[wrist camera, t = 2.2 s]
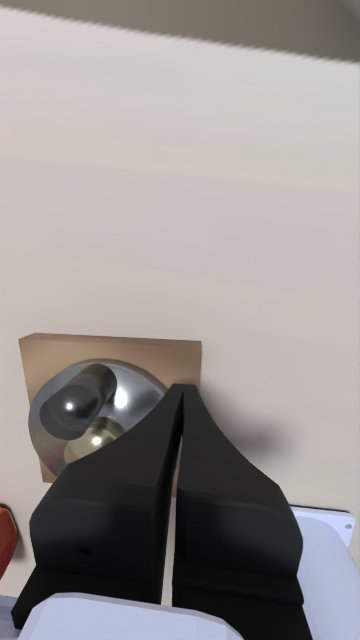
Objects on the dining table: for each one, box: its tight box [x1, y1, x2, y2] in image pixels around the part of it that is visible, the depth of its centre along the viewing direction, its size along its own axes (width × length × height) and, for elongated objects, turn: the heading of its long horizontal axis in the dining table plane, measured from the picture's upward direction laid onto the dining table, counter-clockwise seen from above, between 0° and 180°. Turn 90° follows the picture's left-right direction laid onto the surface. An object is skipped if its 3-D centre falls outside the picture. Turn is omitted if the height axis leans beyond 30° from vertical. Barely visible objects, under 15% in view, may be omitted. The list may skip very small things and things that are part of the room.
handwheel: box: [28, 358, 182, 477], centre depth 13 cm, size 11×11×5 cm
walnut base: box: [18, 333, 201, 497], centre depth 16 cm, size 13×13×2 cm
